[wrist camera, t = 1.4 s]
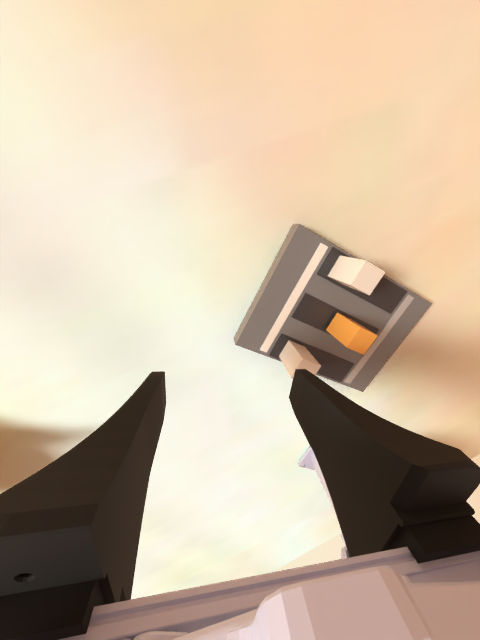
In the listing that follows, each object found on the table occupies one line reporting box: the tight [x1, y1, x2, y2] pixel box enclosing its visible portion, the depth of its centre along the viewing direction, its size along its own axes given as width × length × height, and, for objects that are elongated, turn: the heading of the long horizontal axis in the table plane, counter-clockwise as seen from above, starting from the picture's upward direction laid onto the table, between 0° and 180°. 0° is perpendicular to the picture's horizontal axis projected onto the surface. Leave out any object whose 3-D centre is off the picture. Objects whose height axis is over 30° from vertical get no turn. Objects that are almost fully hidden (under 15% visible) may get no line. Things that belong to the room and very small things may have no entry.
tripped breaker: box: [326, 313, 378, 355], centre depth 20 cm, size 2×2×4 cm
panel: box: [234, 224, 432, 392], centre depth 21 cm, size 17×12×5 cm
